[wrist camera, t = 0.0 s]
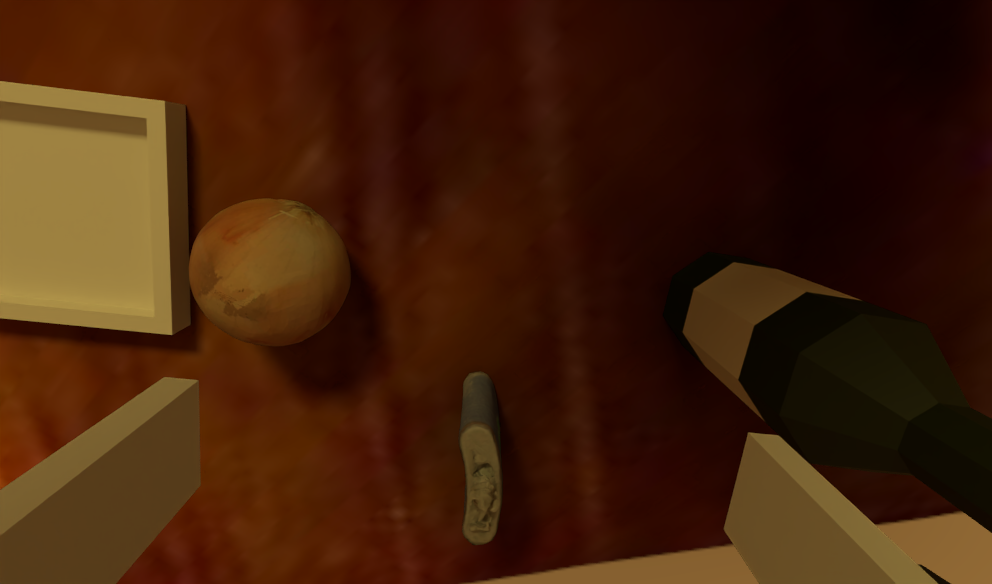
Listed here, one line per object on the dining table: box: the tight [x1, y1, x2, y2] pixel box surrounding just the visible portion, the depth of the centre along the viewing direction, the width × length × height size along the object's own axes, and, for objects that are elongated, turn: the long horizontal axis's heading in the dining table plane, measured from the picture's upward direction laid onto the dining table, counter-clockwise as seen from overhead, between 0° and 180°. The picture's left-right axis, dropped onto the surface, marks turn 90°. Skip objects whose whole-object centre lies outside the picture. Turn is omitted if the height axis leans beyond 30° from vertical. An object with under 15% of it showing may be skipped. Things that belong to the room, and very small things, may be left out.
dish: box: [0, 81, 191, 335], centre depth 37 cm, size 16×16×2 cm
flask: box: [459, 372, 503, 545], centre depth 38 cm, size 9×3×11 cm, turn 1°
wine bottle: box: [663, 252, 992, 533], centre depth 27 cm, size 8×8×30 cm
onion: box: [189, 198, 351, 346], centre depth 35 cm, size 10×10×10 cm
